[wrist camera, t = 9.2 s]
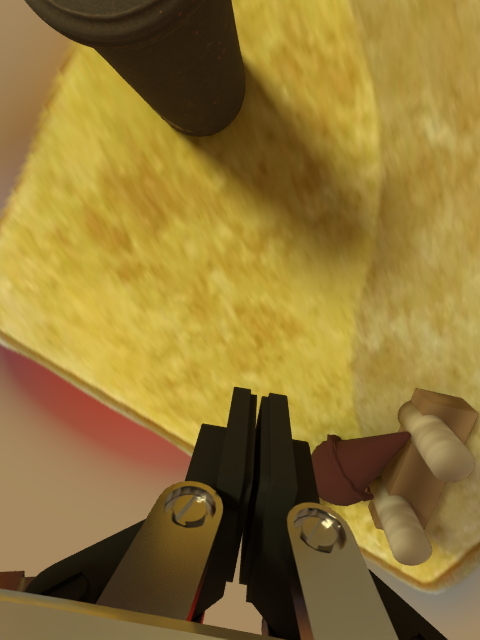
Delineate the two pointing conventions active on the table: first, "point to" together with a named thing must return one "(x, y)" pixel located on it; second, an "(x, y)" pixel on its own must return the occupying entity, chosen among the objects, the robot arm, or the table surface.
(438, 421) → the rail
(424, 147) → the table surface
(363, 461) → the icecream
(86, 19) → the container
